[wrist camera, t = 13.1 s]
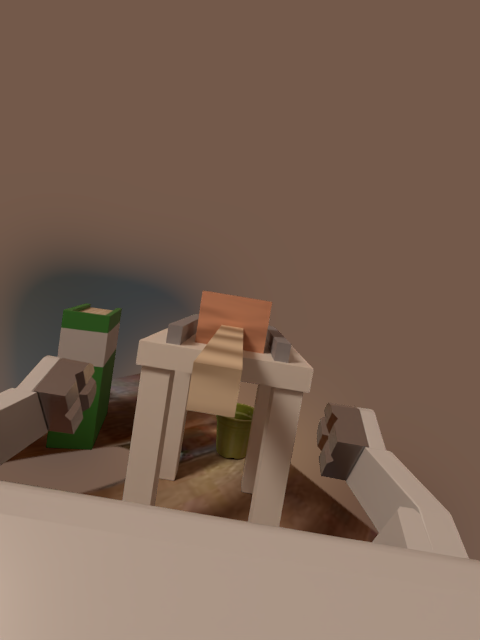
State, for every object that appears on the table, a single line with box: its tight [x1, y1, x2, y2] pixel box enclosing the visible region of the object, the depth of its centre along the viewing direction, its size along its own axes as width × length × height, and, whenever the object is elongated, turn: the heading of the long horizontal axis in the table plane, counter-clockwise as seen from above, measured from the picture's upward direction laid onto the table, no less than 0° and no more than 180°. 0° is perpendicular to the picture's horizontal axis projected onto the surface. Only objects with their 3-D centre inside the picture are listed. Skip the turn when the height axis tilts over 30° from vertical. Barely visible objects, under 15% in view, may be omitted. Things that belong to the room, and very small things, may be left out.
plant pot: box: [216, 403, 254, 459], centre depth 68 cm, size 9×9×9 cm
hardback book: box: [46, 304, 122, 450], centre depth 67 cm, size 18×7×24 cm, turn 13°
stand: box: [122, 314, 313, 527], centre depth 47 cm, size 22×18×27 cm
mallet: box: [186, 291, 272, 418], centre depth 32 cm, size 29×8×6 cm, turn 179°
